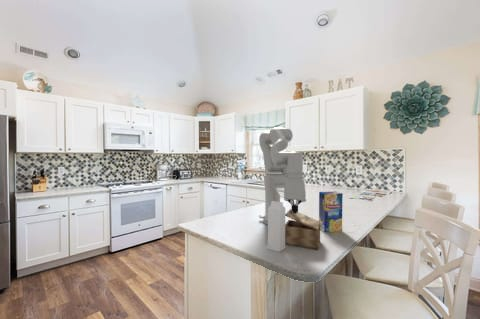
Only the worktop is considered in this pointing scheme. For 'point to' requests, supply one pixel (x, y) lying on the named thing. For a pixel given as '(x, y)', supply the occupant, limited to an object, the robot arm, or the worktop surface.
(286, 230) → the crate
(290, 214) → the lid
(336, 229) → the beverage box
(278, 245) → the milk
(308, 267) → the worktop surface
